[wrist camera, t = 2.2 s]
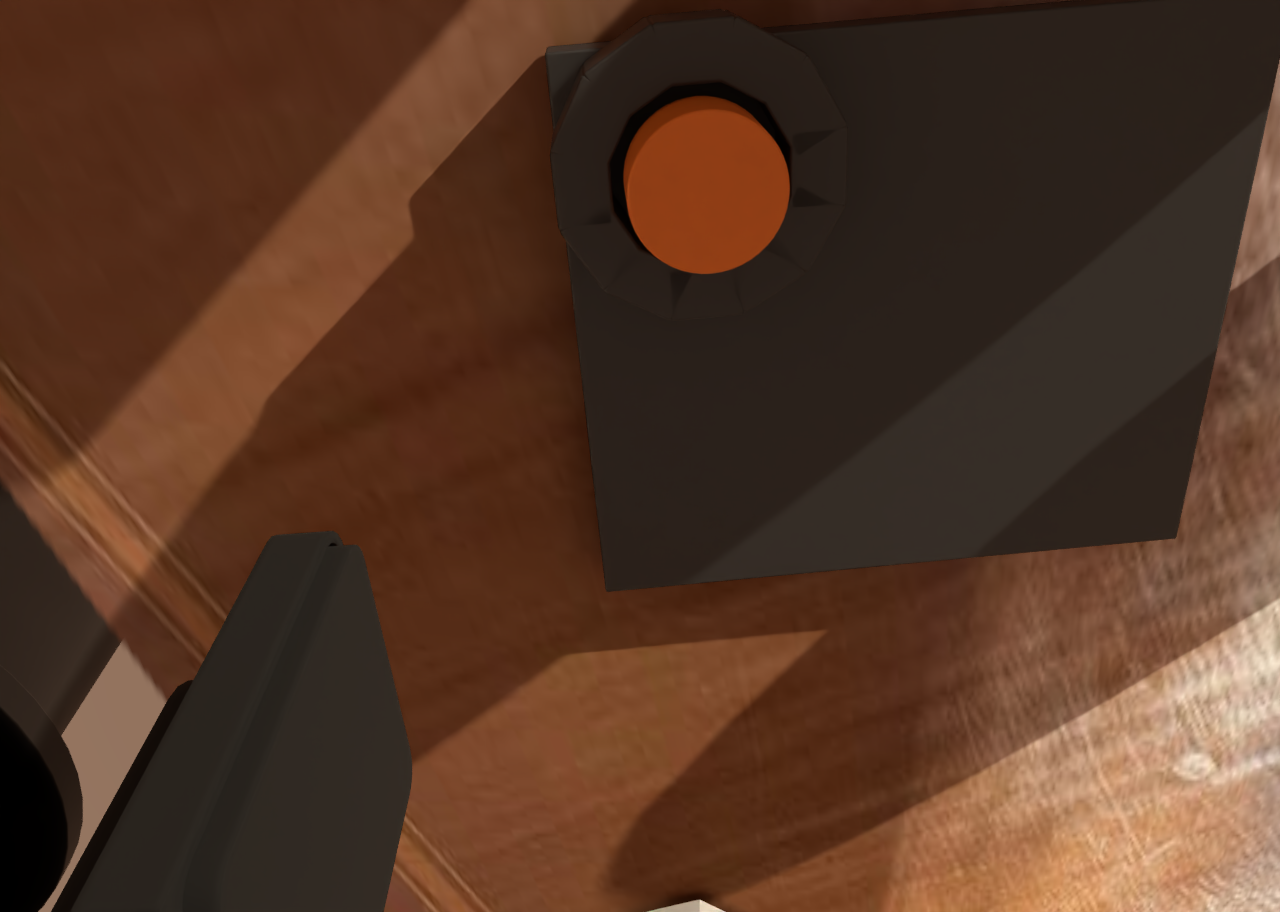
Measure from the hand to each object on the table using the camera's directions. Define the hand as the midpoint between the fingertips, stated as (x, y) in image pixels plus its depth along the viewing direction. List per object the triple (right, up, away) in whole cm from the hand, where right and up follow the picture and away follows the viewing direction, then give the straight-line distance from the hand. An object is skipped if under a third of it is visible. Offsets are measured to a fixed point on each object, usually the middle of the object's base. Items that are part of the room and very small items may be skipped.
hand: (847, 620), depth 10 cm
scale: (+4, +5, +16) cm, 17 cm away
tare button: (-1, +7, +11) cm, 13 cm away
